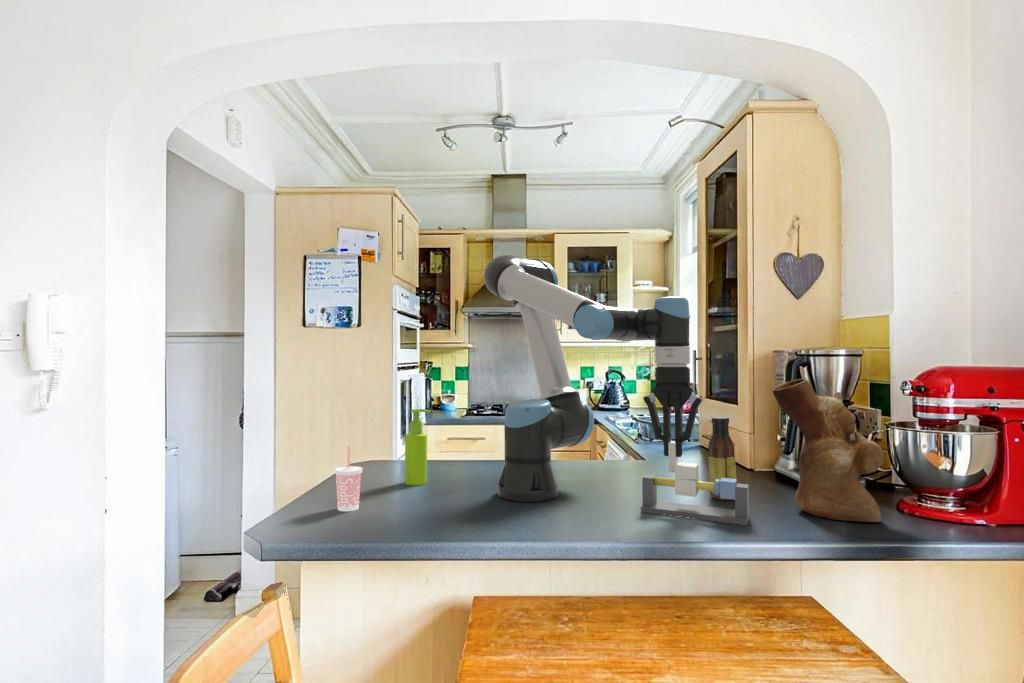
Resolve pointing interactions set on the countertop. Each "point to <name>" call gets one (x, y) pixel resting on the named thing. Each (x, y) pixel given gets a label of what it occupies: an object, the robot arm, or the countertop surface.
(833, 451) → the ceramic vessel
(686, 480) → the sleeve
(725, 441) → the sauce bottle
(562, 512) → the countertop surface
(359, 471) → the beverage cup
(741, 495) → the twin post rod stand
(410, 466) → the soap dispenser
